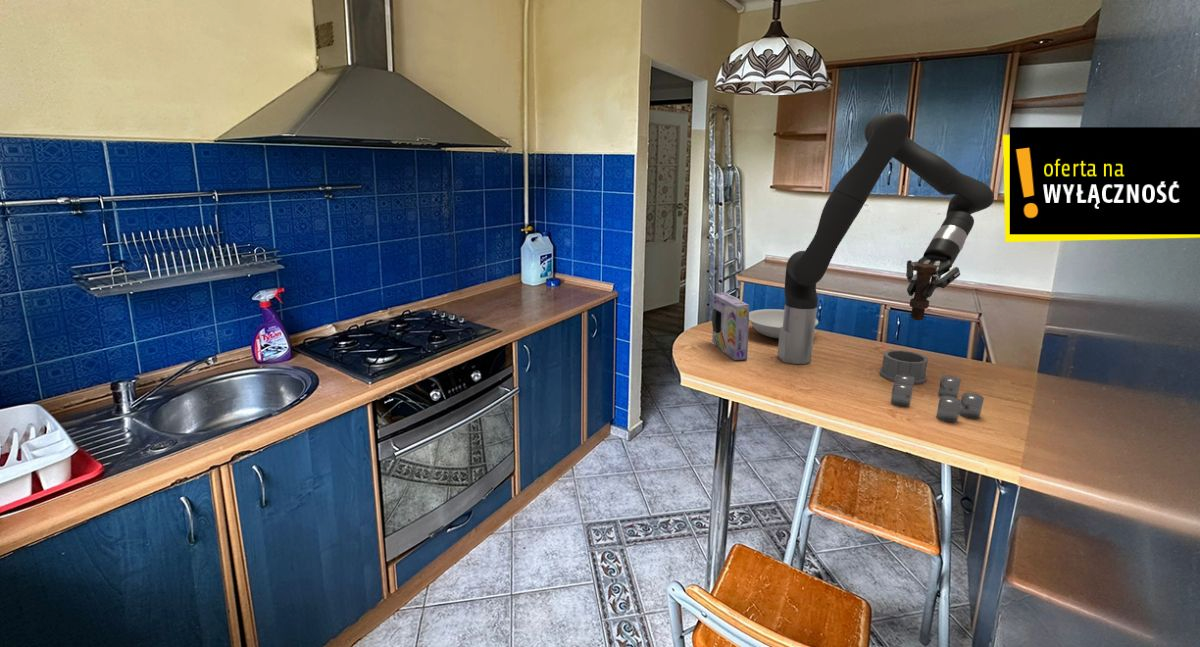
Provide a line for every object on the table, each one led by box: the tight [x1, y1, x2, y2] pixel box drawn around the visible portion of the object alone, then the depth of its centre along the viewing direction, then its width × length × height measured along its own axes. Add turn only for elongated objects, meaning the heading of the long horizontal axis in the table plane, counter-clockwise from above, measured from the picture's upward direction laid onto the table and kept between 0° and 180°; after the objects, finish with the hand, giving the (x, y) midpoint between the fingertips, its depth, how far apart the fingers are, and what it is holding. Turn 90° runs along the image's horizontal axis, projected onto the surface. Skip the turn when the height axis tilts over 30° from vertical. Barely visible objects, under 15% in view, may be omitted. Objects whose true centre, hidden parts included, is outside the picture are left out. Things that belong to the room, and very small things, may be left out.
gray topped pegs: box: [890, 373, 985, 424], centre depth 143 cm, size 19×19×5 cm
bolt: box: [908, 263, 937, 322], centre depth 153 cm, size 6×5×15 cm
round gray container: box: [878, 349, 929, 385], centre depth 162 cm, size 12×12×6 cm
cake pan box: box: [711, 291, 750, 361], centre depth 180 cm, size 19×5×18 cm, turn 11°
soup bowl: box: [749, 308, 819, 340], centre depth 198 cm, size 24×24×7 cm
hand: (917, 295), depth 152 cm, fingers closed on bolt, 3 cm apart
